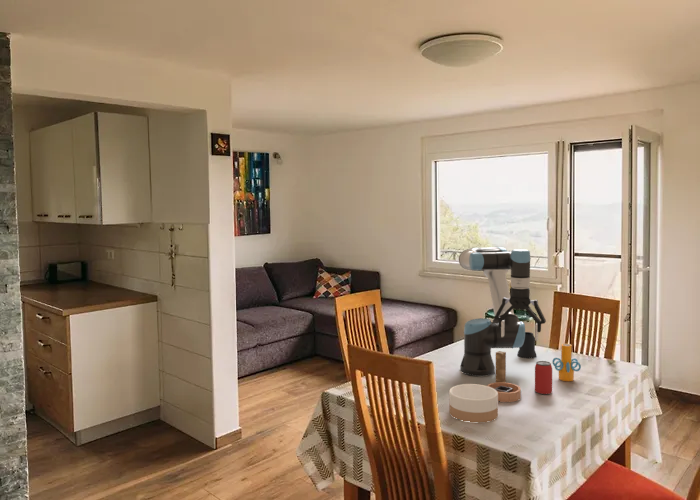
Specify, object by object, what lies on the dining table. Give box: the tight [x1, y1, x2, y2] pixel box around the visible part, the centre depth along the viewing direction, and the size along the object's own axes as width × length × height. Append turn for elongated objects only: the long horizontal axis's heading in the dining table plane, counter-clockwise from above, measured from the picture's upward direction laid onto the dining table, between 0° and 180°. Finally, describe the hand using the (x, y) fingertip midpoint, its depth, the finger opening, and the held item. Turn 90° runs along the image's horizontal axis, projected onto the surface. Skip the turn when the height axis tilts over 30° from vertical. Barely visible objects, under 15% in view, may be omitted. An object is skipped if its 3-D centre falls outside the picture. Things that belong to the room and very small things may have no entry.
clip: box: [495, 386, 513, 393], centre depth 217 cm, size 5×5×2 cm
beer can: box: [534, 360, 553, 395], centre depth 221 cm, size 7×7×12 cm
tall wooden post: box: [495, 350, 507, 383], centre depth 230 cm, size 3×3×14 cm
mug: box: [516, 331, 538, 359], centre depth 273 cm, size 12×9×11 cm
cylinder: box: [551, 343, 582, 382], centre depth 235 cm, size 12×10×15 cm
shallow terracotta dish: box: [486, 381, 522, 403], centre depth 217 cm, size 13×13×4 cm
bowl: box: [448, 383, 499, 423], centre depth 200 cm, size 17×17×8 cm
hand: (519, 338), depth 229 cm, fingers open, 13 cm apart
